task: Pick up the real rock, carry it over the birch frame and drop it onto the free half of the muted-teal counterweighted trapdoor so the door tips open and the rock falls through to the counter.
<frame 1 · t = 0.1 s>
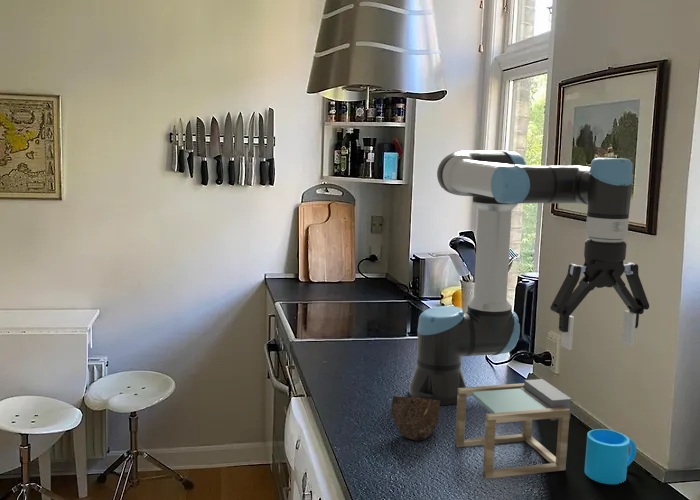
hand: (597, 346, 135), 28 cm above the worktop, fingers open, 13 cm apart
rock: (416, 436, 158), on the worktop
trapdoor: (520, 401, 147), point 13 cm above the worktop, hinge at 0.0°
mug: (612, 473, 142), on the worktop
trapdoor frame: (508, 456, 149), on the worktop
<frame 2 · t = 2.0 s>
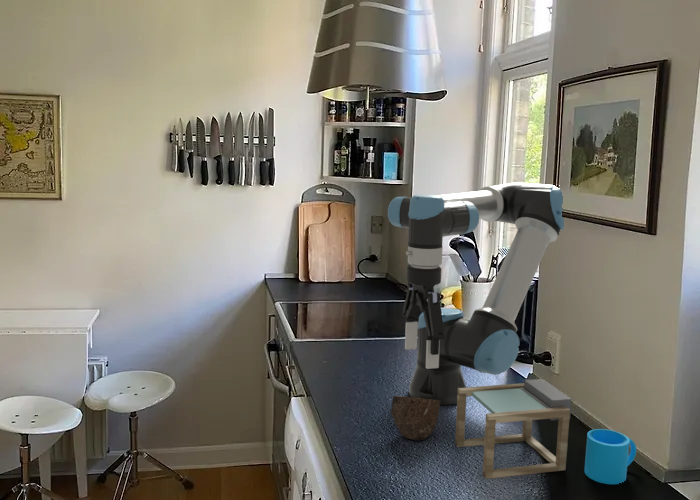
hand: (421, 358, 155), 19 cm above the worktop, fingers open, 13 cm apart
nothing on the worktop moved.
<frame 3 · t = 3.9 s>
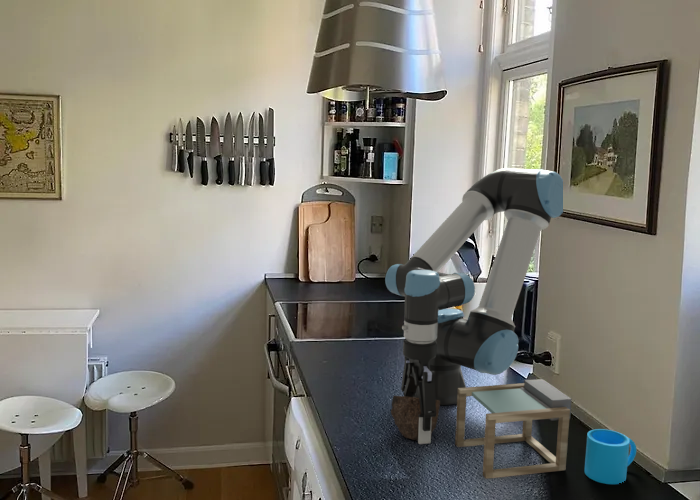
hand: (416, 433, 158), 1 cm above the worktop, fingers closed on rock, 9 cm apart
rock: (416, 436, 158), on the worktop, touching gripper
everything else where it was.
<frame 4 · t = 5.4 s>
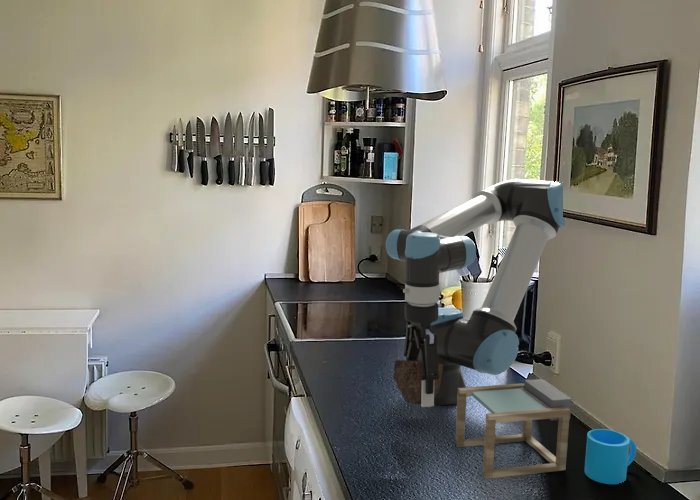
hand: (419, 397, 157), 9 cm above the worktop, fingers closed on rock, 9 cm apart
rock: (419, 400, 157), point 8 cm above the worktop, touching gripper
everything else where it was.
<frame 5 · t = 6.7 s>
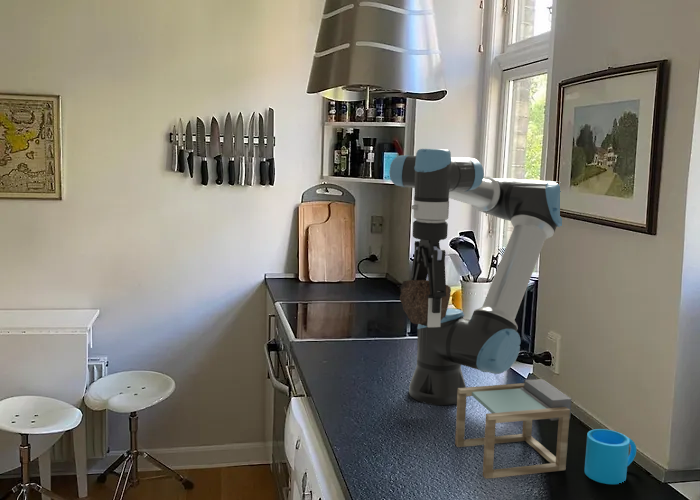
hand: (426, 320, 153), 28 cm above the worktop, fingers closed on rock, 9 cm apart
rock: (425, 324, 153), point 27 cm above the worktop, touching gripper
everything else where it was.
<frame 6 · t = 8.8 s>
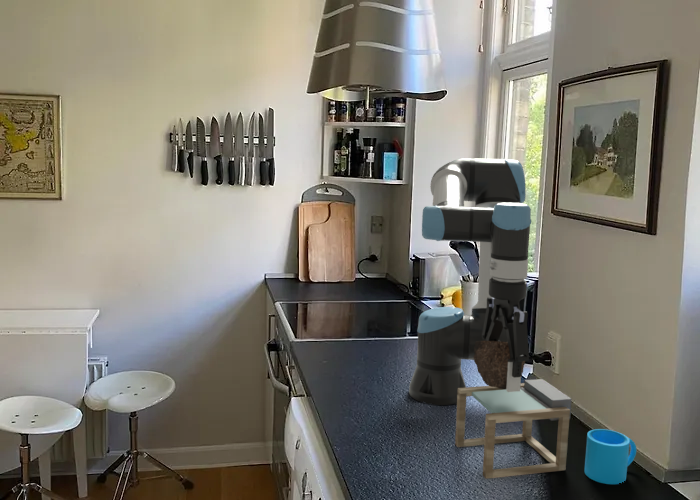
hand: (502, 382, 145), 17 cm above the worktop, fingers closed on rock, 9 cm apart
rock: (501, 385, 145), point 16 cm above the worktop, touching gripper
everything else where it was.
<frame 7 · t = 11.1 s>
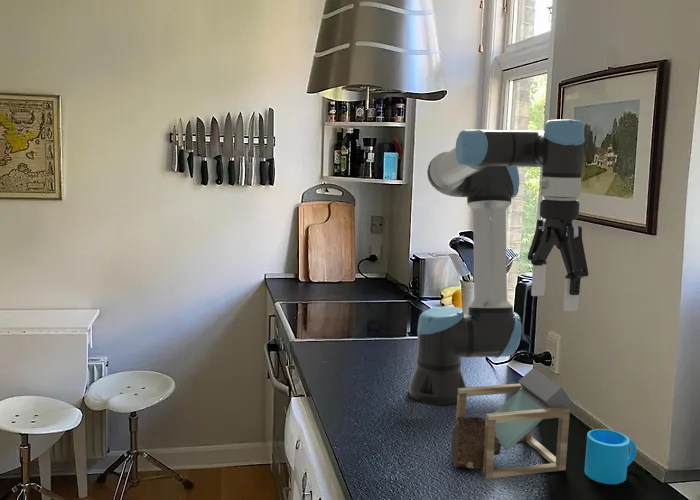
hand: (553, 302, 140), 35 cm above the worktop, fingers open, 13 cm apart
rock: (496, 434, 143), point 7 cm above the worktop, touching trapdoor
trapdoor: (522, 410, 148), point 10 cm above the worktop, hinge at -40.0°, touching rock
everything else where it was.
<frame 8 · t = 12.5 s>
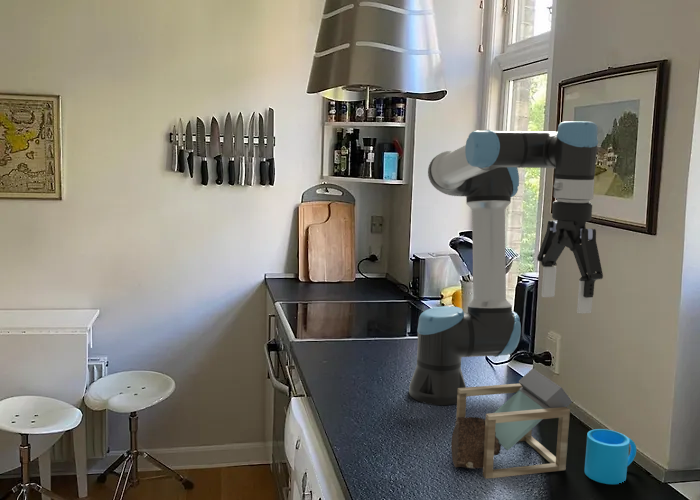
hand: (565, 304, 140), 35 cm above the worktop, fingers open, 13 cm apart
nothing on the worktop moved.
at the end: rock point 7.0 cm above the worktop; rock 5.7 cm from the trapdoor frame (horizontally) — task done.
